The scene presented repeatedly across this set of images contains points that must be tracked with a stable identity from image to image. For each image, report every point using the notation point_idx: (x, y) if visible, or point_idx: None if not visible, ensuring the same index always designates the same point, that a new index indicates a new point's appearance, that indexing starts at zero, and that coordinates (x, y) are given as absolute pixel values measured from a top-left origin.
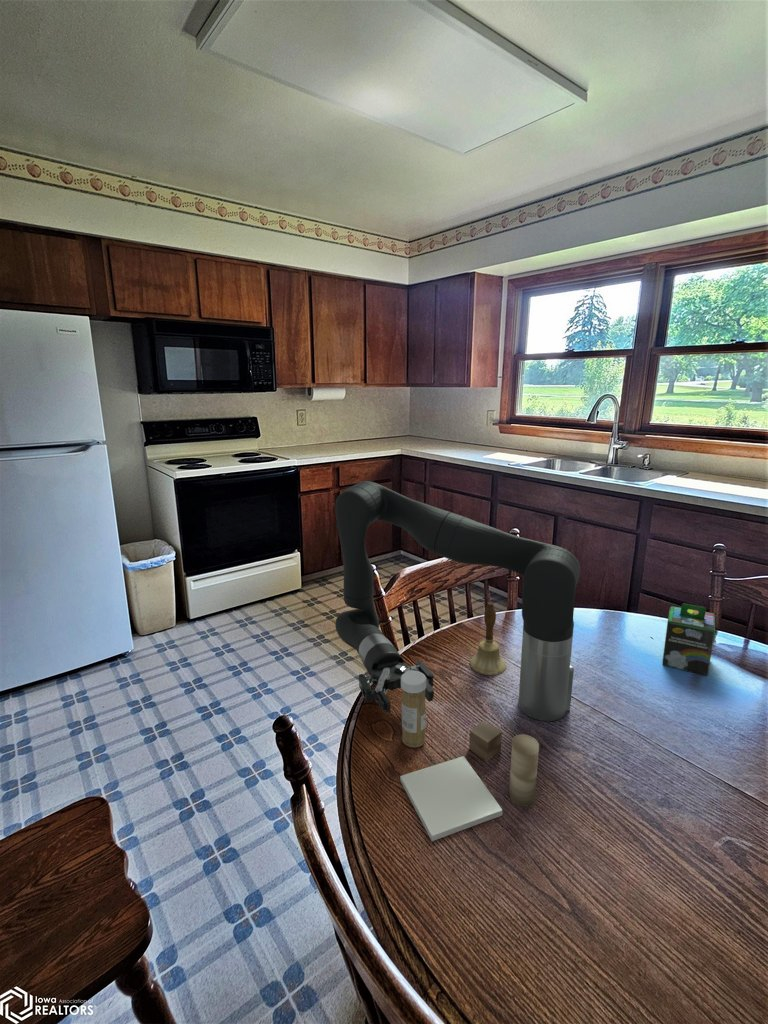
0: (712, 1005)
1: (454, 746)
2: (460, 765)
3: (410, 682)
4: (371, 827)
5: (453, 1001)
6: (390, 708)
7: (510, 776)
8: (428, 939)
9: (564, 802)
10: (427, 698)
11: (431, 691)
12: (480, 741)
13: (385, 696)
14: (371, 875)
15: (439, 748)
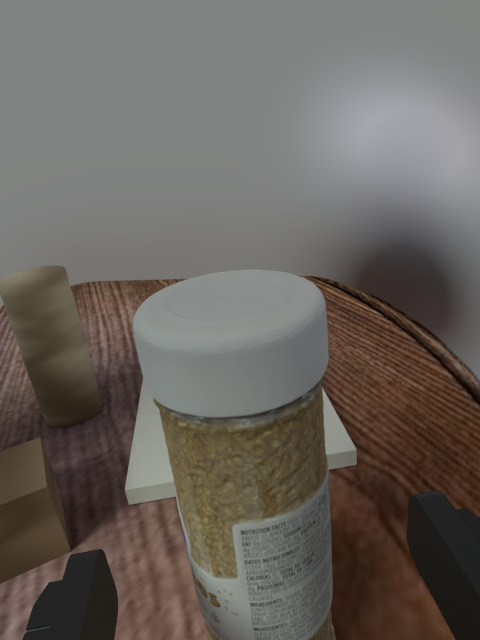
0: (107, 282)
1: (114, 572)
2: (157, 462)
3: (265, 273)
4: (428, 380)
5: (315, 278)
6: (407, 524)
7: (85, 364)
8: (331, 297)
9: (13, 395)
10: (112, 625)
11: (77, 553)
12: (47, 468)
13: (461, 549)
14: (413, 332)
15: (177, 572)
